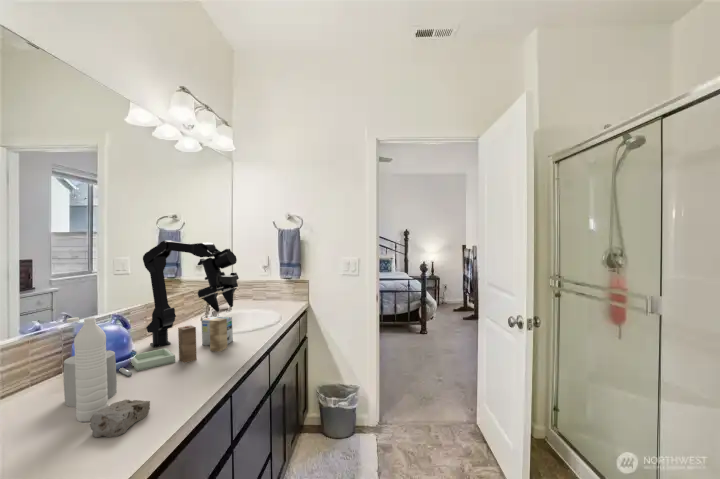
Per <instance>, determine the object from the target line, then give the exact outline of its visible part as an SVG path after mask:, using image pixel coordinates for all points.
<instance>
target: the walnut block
mask: <svg viewBox="0 0 720 479" xmlns="http://www.w3.org/2000/svg"><path fill="white" fill-rule="evenodd" d="M177 328H178V329H177V331H178V332H177V335H178V337H177V338H178V361H180V362H182V363H183V364H185V363H189V362H193V361H197V355H198V354H197V329H196V328H197V326H193V325H191V324H190V325H186V326H180V327H177Z"/></svg>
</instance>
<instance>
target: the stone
mask: <svg viewBox="0 0 720 479" xmlns="http://www.w3.org/2000/svg"><path fill="white" fill-rule="evenodd" d="M150 410H151V400H143V399H142V400H139V399H134V400H130V399H123V400H119V401H116V402H113V403H111V404H110V405H108V407H106V408H104V409H102V410H100V411H98V412H97V413H95V414H94V415H92V417H91V419H90V421H89V422H90V423H89V428H90V430H91V431H92V432H91V433H92V436H93V437H95V438H100V437H107V438H113V437H119V436H122V435H123V434H125V433H126V432H127V430H128V429H130V427H131V426H133V425H134V424H135V423H137V421H140V420H143V419H144V418H146V417H147V415H148V414H149V412H150Z"/></svg>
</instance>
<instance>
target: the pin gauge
mask: <svg viewBox="0 0 720 479" xmlns="http://www.w3.org/2000/svg"><path fill="white" fill-rule="evenodd" d="M119 371H120V373H121V374H123V375H124V376H126V377H129V376H130V377H132V375H133V372H132V371H130V370H127V369H126V368H124V367H122V368H120V369H119ZM119 371H118V372H119Z"/></svg>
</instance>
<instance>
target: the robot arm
mask: <svg viewBox="0 0 720 479" xmlns="http://www.w3.org/2000/svg"><path fill="white" fill-rule="evenodd" d="M172 251H173V252H178V253H179V252H181V253H189V254H191V255H193V256H196V257H198V258H200V259H199V261H198V263H197V266H203V269H204V270H203V271H204V272H205V277H204V281H207V282H208V285H209V286H207V287H206V286H205V287H204V288H201V289H199V290H198V291H197V297H198V299H199V298H201V300H204V302H206V303H207V304H208V305H209V306H210V308H212V309H213V310H214V311H215V312H216V313H218V312H220V306H219V303H218V302H219V301H218V298H217V297H218V295H219V292H220V291H221V295H222V296H223V298H224V300H225V301H226V303H227V305H229V308H232V307H234V293H235V291H236V290H237V289H238V287H239V284H238V282H237V281H238V280H239V279H240V277H239V275H238V273H237V272H231V273H230V274H226V273H225V272H224V271H222V269H226V268H229V267H231V266H234V265H236V263H237V261H238V259H237V256H236V255H235V253H234V252H233V251H231V248H225V249H223V250H220V249H219V248H217V247H216V245H215V244H214V243H212V242H199V243H191V242H184V241H183V242H181V241H173V240H162V241H160V242H159V244H157V245H155V246H154V247H152V248H151V249H150V250H148V251H146V252H145V253H144V255H142V261H143V265H144V268H145V269H146V270H147V271H148V272H149V274H150V275H149V276H150V283H151V287H152V288H151V289H152V294H153V302H154V309H153V311H152V313H151V321H150V323H149V324H148V325H147V326H146V331H147V333H152V342H151V343H150V342H149V343H150V346H151V347H152V348H158V347H163V346H168V345H171V344H172V343H171V342H170V341H169V331H168V330H169V329H172V328H173V325H174V323H175V322H176V317H177V315H176V310H175V307H171V306H170V305H169V300H168V295H167V294H168V293H167V288H166V286H167V285H166V281H165V274H164V273H165V272H164V270H165V268H166V266H167V258H169V257H170V256H171V254H172Z"/></svg>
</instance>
